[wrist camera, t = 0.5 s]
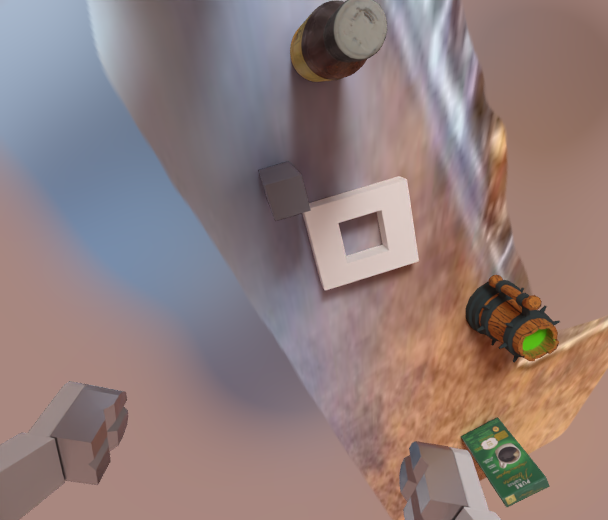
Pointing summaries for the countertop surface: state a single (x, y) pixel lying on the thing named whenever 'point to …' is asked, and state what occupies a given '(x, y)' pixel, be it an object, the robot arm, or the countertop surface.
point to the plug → (284, 190)
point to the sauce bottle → (338, 39)
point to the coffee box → (504, 462)
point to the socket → (373, 198)
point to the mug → (512, 319)
